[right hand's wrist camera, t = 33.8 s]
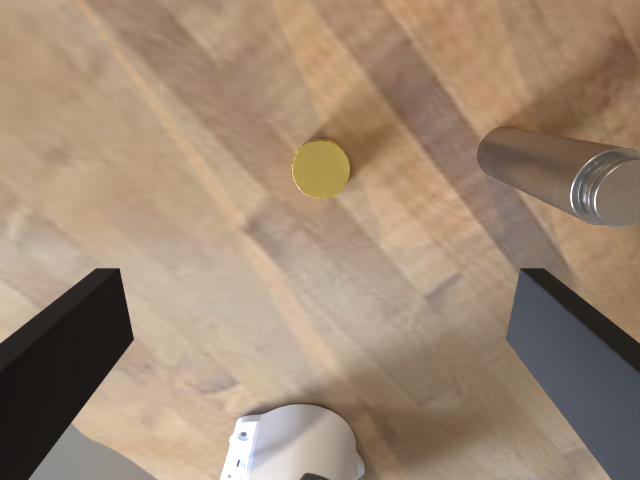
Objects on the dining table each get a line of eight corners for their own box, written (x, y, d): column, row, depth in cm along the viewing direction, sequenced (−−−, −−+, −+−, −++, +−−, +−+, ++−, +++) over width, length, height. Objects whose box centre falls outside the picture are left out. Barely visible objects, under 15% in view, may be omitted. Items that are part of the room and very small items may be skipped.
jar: (488, 185, 40) (601, 248, 24) (469, 143, 38) (575, 180, 22) (534, 160, 39) (684, 207, 23) (515, 116, 37) (663, 134, 21)
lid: (303, 201, 40) (302, 206, 39) (284, 148, 38) (283, 150, 37) (356, 185, 40) (357, 189, 38) (340, 130, 38) (341, 131, 36)
